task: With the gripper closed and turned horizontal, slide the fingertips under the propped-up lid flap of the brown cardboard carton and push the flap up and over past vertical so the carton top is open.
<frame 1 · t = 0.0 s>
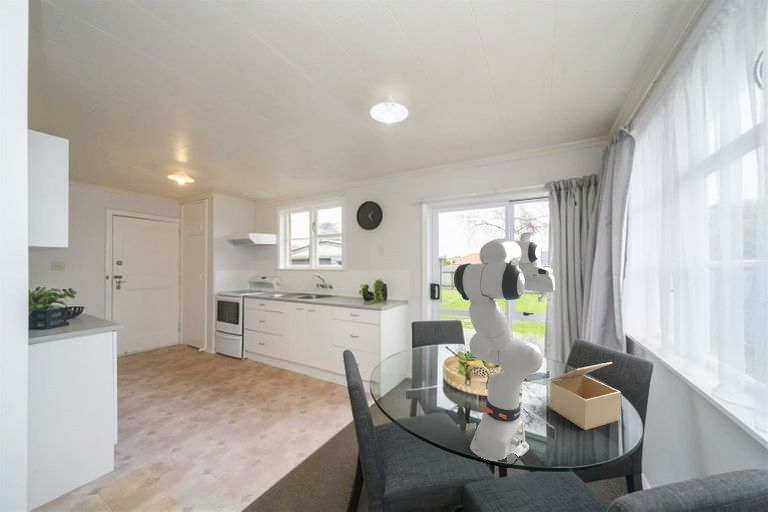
hand: (528, 299, 131), 48 cm above the table, tool pointing down, fingers open, 8 cm apart
carton: (583, 413, 125), on the table
carton flap: (580, 371, 126), point 18 cm above the table, hinge at 40.0°
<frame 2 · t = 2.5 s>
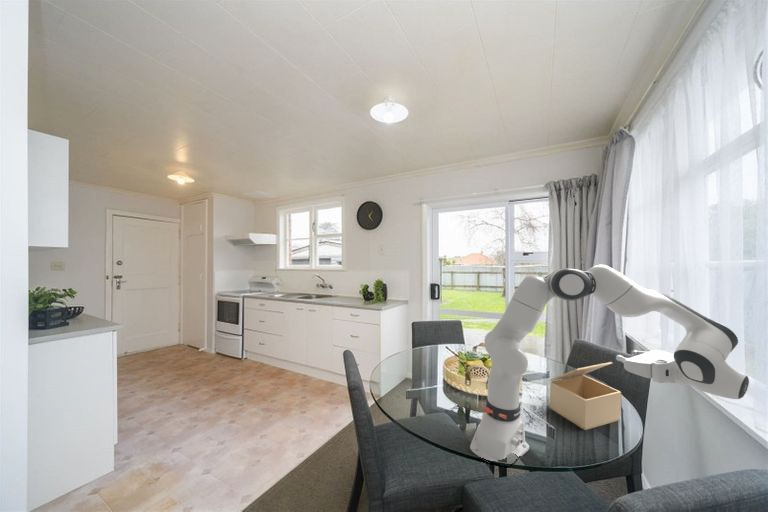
hand: (624, 354, 110), 31 cm above the table, tool horizontal, fingers open, 8 cm apart
nothing on the table moved.
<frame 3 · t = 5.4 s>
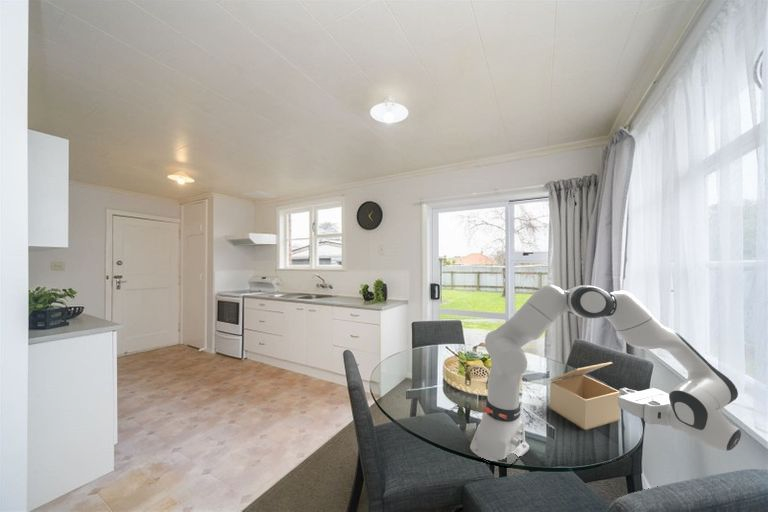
hand: (621, 389, 111), 18 cm above the table, tool horizontal, fingers closed
nothing on the table moved.
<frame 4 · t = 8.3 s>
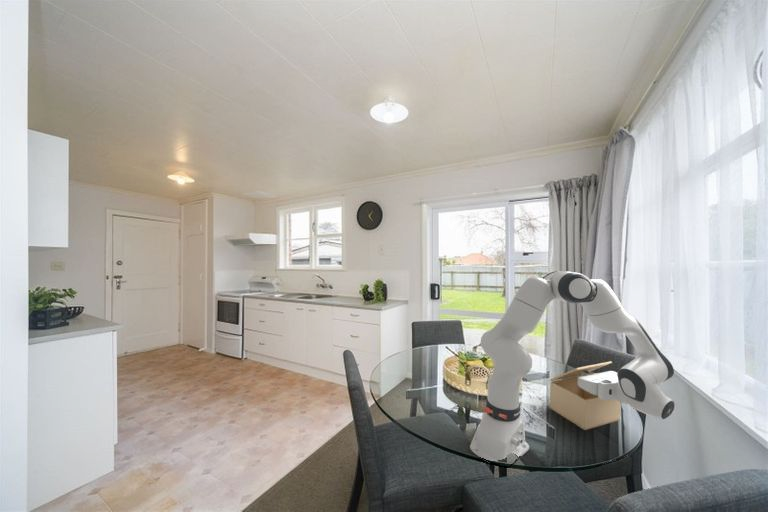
hand: (583, 372, 125), 18 cm above the table, tool horizontal, fingers closed, pressing on carton flap
carton flap: (580, 371, 126), point 18 cm above the table, hinge at 40.9°, touching gripper
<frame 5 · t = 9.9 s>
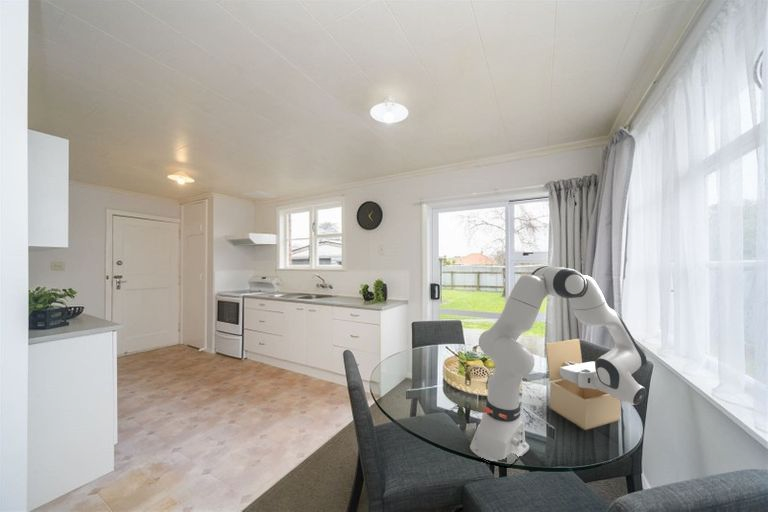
hand: (566, 363, 133), 18 cm above the table, tool horizontal, fingers closed, pressing on carton flap
carton flap: (564, 359, 133), point 20 cm above the table, hinge at 99.7°, touching gripper
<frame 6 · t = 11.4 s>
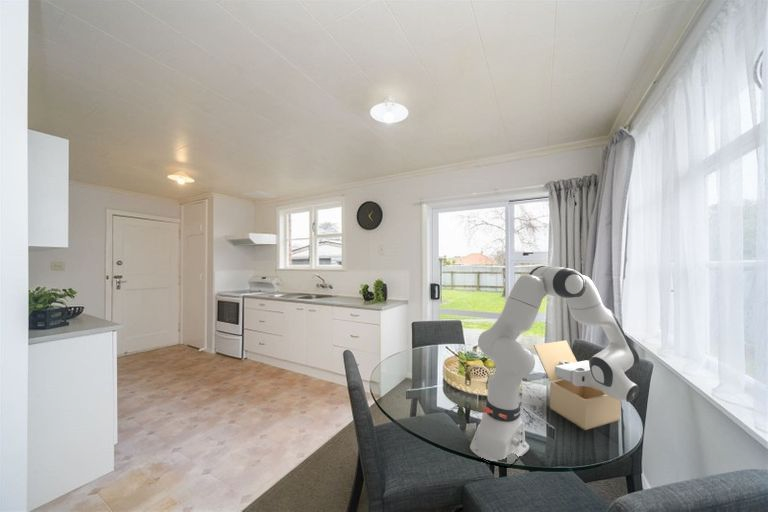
hand: (561, 362, 135), 18 cm above the table, tool horizontal, fingers closed
carton flap: (558, 359, 136), point 19 cm above the table, hinge at 125.6°
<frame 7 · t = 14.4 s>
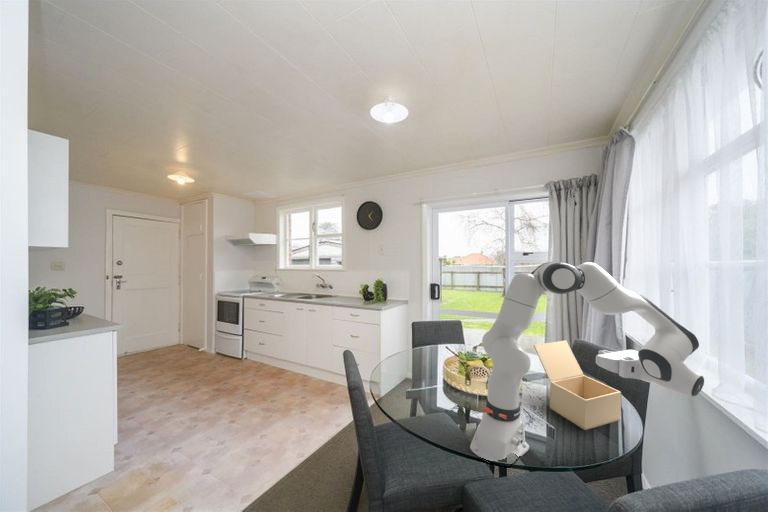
hand: (600, 351, 118), 29 cm above the table, tool horizontal, fingers closed
nothing on the table moved.
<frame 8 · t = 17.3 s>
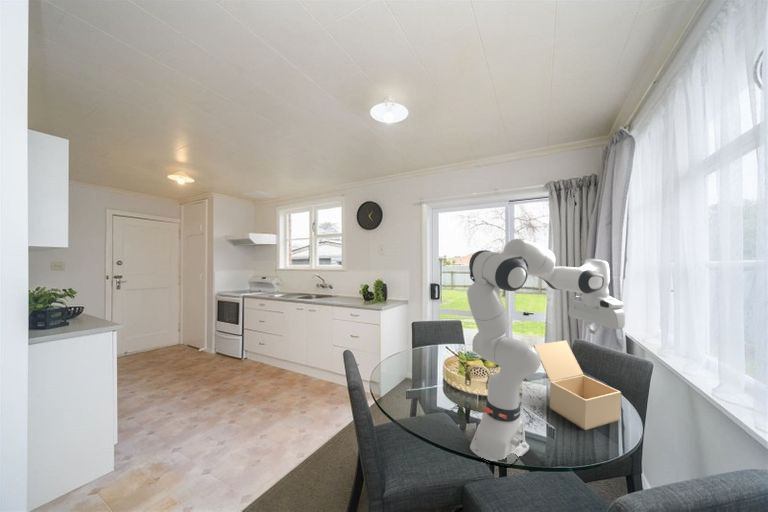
hand: (593, 333, 117), 37 cm above the table, tool pointing down, fingers closed
nothing on the table moved.
at the end: carton flap at +126° (first picture: +40°) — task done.
